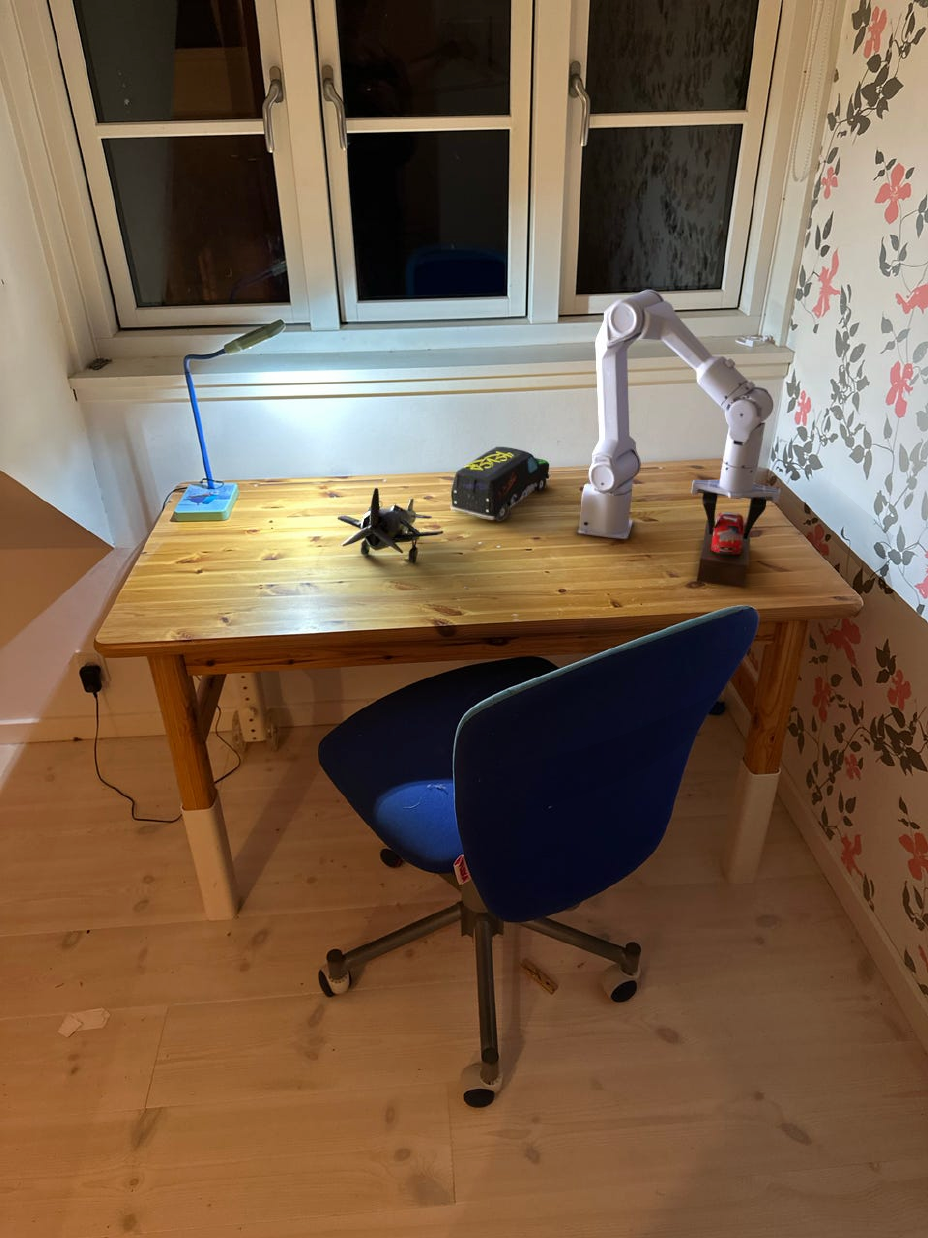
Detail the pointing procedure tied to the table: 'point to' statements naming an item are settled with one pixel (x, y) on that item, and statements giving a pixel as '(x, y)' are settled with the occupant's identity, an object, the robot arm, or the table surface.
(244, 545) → the table surface
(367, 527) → the airplane toy
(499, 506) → the toy van
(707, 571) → the step block
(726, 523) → the race car
